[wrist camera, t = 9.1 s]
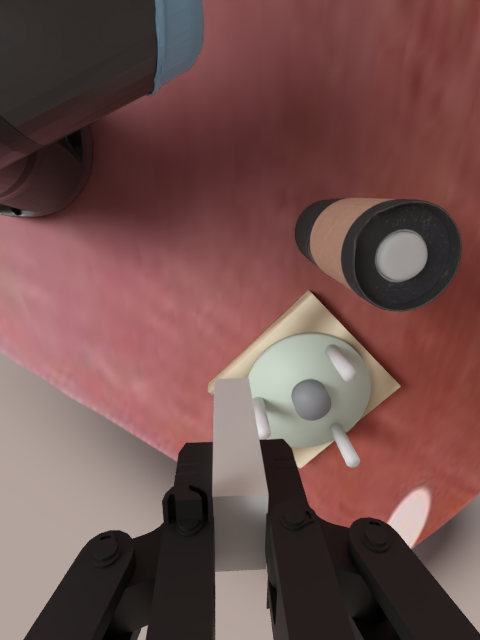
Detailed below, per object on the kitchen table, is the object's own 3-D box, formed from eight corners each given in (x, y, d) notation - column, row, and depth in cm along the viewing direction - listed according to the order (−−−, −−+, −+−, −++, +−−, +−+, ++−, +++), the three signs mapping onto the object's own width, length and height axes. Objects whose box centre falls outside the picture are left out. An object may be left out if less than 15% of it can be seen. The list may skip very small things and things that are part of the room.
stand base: (208, 383, 49) (207, 396, 45) (308, 289, 45) (315, 296, 42) (298, 459, 53) (303, 475, 50) (395, 380, 50) (406, 392, 47)
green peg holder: (291, 461, 51) (303, 505, 43) (219, 382, 46) (219, 416, 39) (389, 397, 48) (419, 432, 41) (323, 306, 44) (344, 328, 36)
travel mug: (358, 257, 44) (463, 302, 25) (296, 269, 44) (355, 323, 25) (353, 191, 42) (465, 187, 23) (288, 204, 42) (345, 210, 23)
